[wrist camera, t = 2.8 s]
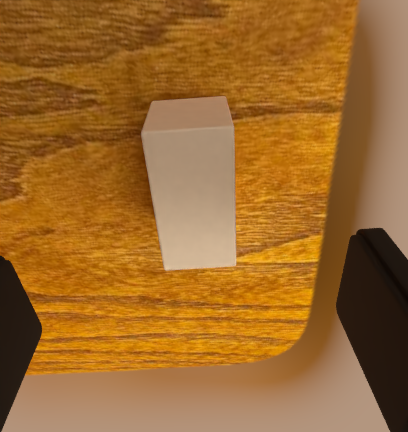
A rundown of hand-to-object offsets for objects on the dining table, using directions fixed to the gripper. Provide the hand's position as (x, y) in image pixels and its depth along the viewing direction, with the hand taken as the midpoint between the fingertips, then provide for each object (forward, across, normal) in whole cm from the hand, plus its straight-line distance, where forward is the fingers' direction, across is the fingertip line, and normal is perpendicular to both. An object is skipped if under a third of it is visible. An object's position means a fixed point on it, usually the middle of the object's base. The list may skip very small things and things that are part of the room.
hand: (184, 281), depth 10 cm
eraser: (+7, 0, 0) cm, 7 cm away
